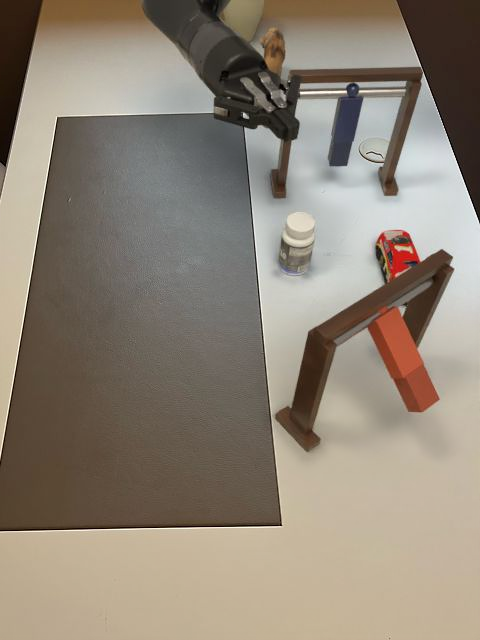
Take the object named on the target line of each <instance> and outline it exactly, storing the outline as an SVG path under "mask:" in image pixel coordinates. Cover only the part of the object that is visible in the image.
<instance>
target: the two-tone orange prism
mask: <svg viewBox="0 0 480 640" xmlns="http://www.w3.org/2000/svg"><path fill="white" fill-rule="evenodd" d="M433 283H434V281H433V279H432V277H430V278H429V279H427V280H425V281H424V282H422V283H421V284H419V285H418V286H416V287H415V288H413V289H411V290H410V291H408V292H407V293H405V294H404V295H402V296H400V297H399V298H397V299H396V300H394V301H393V302H391V303H389V304H388V305H386V306H385V307H383V308H382V309H380V310H378V311H377V312H375V313H374V314H372V315H371V316H369V317H368V318H366V319H364V320H363V321H361V322H360V323H358V324H357V325H355V326H353V327H352V328H350V329H349V330H347V331H346V332H344V333H342V334H341V335H339V336H338V337H336V338H335V339H333V341H334V342H335V343H336V344H337V347H336V348H338V347H339V346H341V345H342V344H344V343H346V342H347V341H348V340H351V339H352V338H353V337H355V336H356V335H358V334H359V333H361V332H363V331H364V330H366V329H367V330H368V333H369V335H370V337H371V339H372V341H373V343H374V345H375V347H376V349H377V351H378V354H379V355H380V357H381V360H382V362H383V364H384V366H385V368H386V370H387V372H388V374H389V376H390V378H391V379H392V380H393V383H394V385H395V387H396V389H397V391H398V393H399V395H400V397H401V400H402V401H403V404H404V406H405V407H406V410H407V412H408V413H424V412H425V411H427V410H428V409H429V408H431V407H432V406H433V405H435V404H436V403H438V401H440V395H439V394H438V392H437V389H436V388H435V386H434V384H433V382H432V379H431V377H430V375H429V373H428V370H427V369H426V367H425V362H424V360H423V358H422V356H421V353H420V352H419V350H418V349H419V348H418V349H417V347H416V345H415V343H414V341H413V339H412V337H411V334H410V332H409V330H408V328H407V326H406V324H405V322H404V320H403V314H401V313H402V312H401V311H400V309H399V308H400V307H401V306H403V305H405V304H404V303H406V302H407V301H409V300H411V299H412V298H414V297H415V296H417V295H418V294H420V293H421V292H423V291H425V290H426V289H428V288H429V287H431V286H432V285H433Z"/></svg>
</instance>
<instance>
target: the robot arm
mask: <svg viewBox="0 0 480 640" xmlns="http://www.w3.org/2000/svg"><path fill="white" fill-rule="evenodd" d="M230 1H231V0H141V8H142V10H143V14H144V15H145V17H146V19H147V20H148V21H149V22H151V24H152V25H154V27H155V28H156V29H158V30H159V31H160V32H161V33H162V34H163V36H165V37H166V38H167V39H168V40H169V42H171V43H172V44H173V45H174V46H175V48H176V49H177V50H178V52H179V53H180V54H181V56H182V57H183V58H184V60H185V61H186V62H187V63H188V64H189V65H190V66H191V67H192V69H193V71H194V73H195V74H196V76H197V77H198V78H199V79H200V81H201V82H202V84H204V85H205V86H206V87H207V89H208V90H209V91H210V92H211V93H212V94H213V95H214V96H215V97H214V98H213V119H214V120H217V121H220V122H224V123H228V124H230V125H231V124H232V125H235V126H238V127H241V128H245V129H249V130H257V129H258V127H260V126H262V127H263V128H265V129H267V130H268V129H269V130H270V132H272V133H273V135H274V136H275V137H276V138H277V139H279V140H281V139H283V141H284V142H289V141H292V142H293V141H295V140H298V137H299V133H300V126H301V122H300V120H299V118H297V117H296V112H297V106H298V101H299V99H298V97H299V91H300V89H301V85H302V84H301V76H300V75H293V76H292V79H291V80H288V79H284V78H281V76H279V75H278V74H277V73H275V72H272V71H270V70H269V68H268V66H267V64H266V62H265V60H264V55H262V54H261V53H260V52H259V51H258V50H257V49H256V48H255V47H254V46H253V45H252V44H251V43H250V42H247V41H246V40H245V39H244V38H243V37H242V36H241V35H240V34H239V33H238V32H237V31H236V30H234V29H233V28H231V27H230V26H228V25H227V24H226V23H225V22H224V21H225V20H223V19H222V18H221V17H220V15H221V14H222V13H223V10H224V9H225V7H226V6H227V5H228V3H229V2H230ZM281 91H282V94H283V95H284V96H285V97H284V98H285V99H287V100H286V101H285V100H284V98H283V97H282V96H281ZM295 111H296V112H295ZM242 114H245V116H247V117H248V118H246V117H243V115H242ZM294 115H295V116H294Z"/></svg>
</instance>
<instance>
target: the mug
mask: <svg viewBox="0 0 480 640" xmlns="http://www.w3.org/2000/svg"><path fill="white" fill-rule="evenodd" d="M265 1H266V0H231V1H230V2H229V3H228V5H227V6H226V7H225V9H224V10H223V11H222V13H223V16H224V20H223V21H224V22H225V23H226V24H227V25H228V26H230V27H231V28H233V29H234V30H236V31H237V32H238V33H239V34H240V35H241V36H242V37H243V38H244V39H245V40H246V41H247V42H248V43H250V42H251V41H253V39H254V37H255V35H256V32H257V29H258V26H259V23H260V20H261V18H262V14H263V11H264V6H265Z"/></svg>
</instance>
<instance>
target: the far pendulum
mask: <svg viewBox="0 0 480 640" xmlns="http://www.w3.org/2000/svg"><path fill="white" fill-rule="evenodd" d="M405 94H406V87H405V86H404V85H403V86H402V85H401V86H400V85H398V86H361V87H360V86H359V84H358V83H357V82H350V83H348V84H347V85H346V86H345V87H319V88H317V87H316V88H315V87H314V88H312V87H311V88H300V91H299V97H298V101H299V100H300V101H301V100H334V99H335V100H336V99H337V100H336V107H335V111H334V116H333V123H332V128H331V133H330V136H331V139H330V143H329V148H328V154H327V161H328V164H329V165H328V166H329V167H331V168H332V167H348V164H349V159H350V156H351V152H352V151H351V150H352V146H353V142H355V137H356V135H357V134H356V133H357V129H358V124H359V121H360V120H359V119H360V115H361V110H362V107H363V103H364V99H374V98H375V99H377V98H378V99H379V98H384V99H385V98H402V97H404V96H405Z"/></svg>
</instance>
